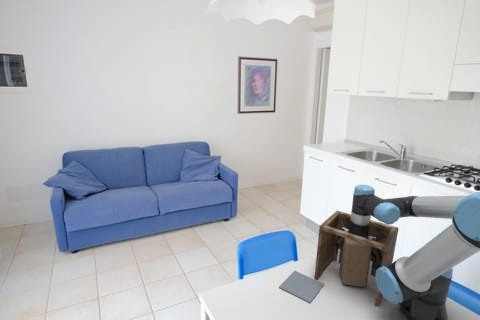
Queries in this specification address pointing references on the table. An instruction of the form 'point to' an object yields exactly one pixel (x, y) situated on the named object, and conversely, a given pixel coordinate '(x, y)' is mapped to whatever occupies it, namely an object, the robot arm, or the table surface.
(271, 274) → the table surface
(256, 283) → the table surface
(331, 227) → the cubby
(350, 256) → the wooden block
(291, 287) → the mat
